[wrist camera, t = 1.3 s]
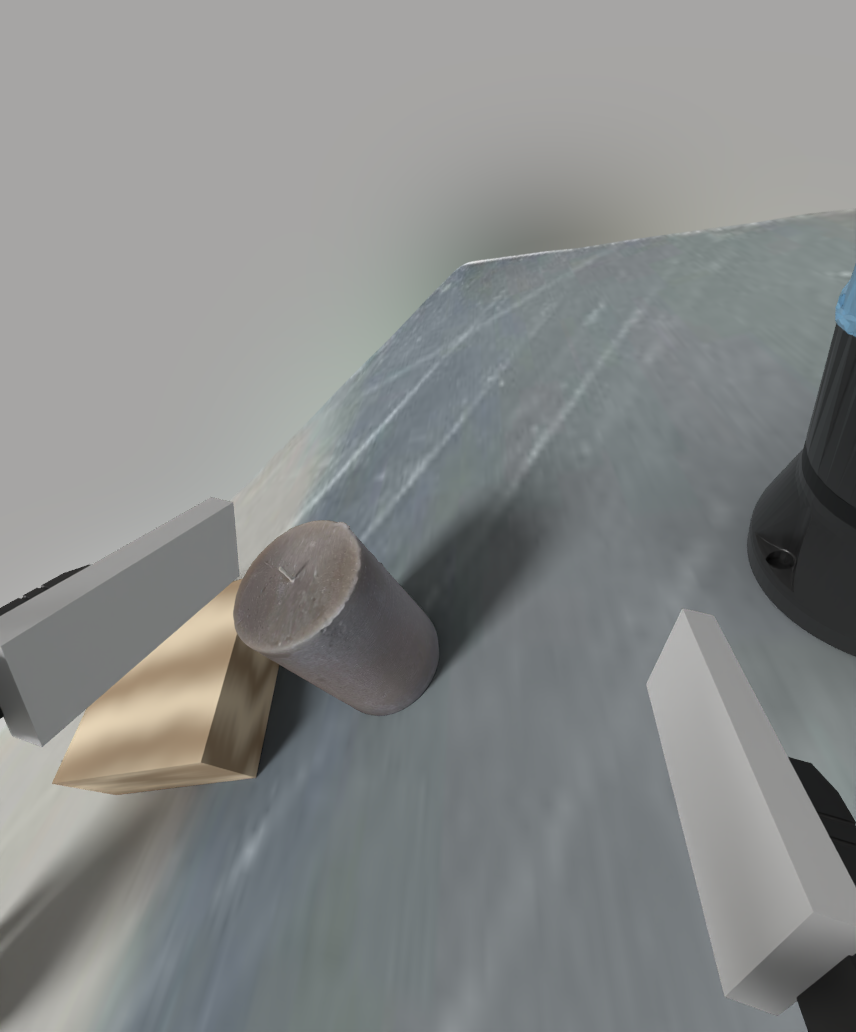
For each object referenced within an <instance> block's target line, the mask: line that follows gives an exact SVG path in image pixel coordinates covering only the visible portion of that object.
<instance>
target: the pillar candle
mask: <svg viewBox="0 0 856 1032" xmlns="http://www.w3.org/2000/svg"><path fill="white" fill-rule="evenodd" d="M233 618H234V625H235V630H236V632H237V634H238V636H239V637H240V639H241V640H242V641H243V642H244V643H245V644H246V645H247V646H249V647H250V648H251V649H253V650H255V651H257V652H259V653H260V654H262V655H263V656H265V657H267V658H269V659H270V660H272V661H274V662H276V663H278V664H279V665H281V666H283V667H284V668H286V669H288V670H289V671H291V672H293V673H295V674H296V675H298V676H300V677H302V678H303V679H305V680H307V681H308V682H310V683H312V684H313V685H315V686H317V687H318V688H320V689H322V690H324V691H325V692H327V693H329V694H330V695H332V696H334V697H336V698H337V699H339V700H341V701H343V702H345V703H346V704H348V705H350V706H352V707H353V708H355V709H356V710H359V711H361V712H363V713H365V714H370V715H375V716H385V715H389V714H393V713H396V712H399V711H401V710H403V709H404V708H406V707H408V706H409V705H411V704H412V703H413V702H414V701H415V700H417V699H418V698H419V697H420V696H421V695H422V694H423V692H424V691H425V690H426V689H427V687H428V685H429V684H430V682H431V681H432V679H433V677H434V675H435V671H436V669H437V666H438V662H439V644H438V636H437V633H436V630H435V627H434V625H433V623H432V622H431V620H430V619H429V617H428V616H427V615H426V614H425V612H424V611H423V610H422V609H421V608H420V607H419V606H418V604H417V603H416V602H415V601H414V600H413V599H412V598H411V597H410V596H409V594H408V593H407V592H406V591H405V590H404V589H403V588H402V587H401V586H400V585H399V584H398V582H397V581H396V580H395V579H394V578H393V577H392V576H391V575H390V573H389V572H388V571H387V570H386V569H385V568H384V566H383V564H382V563H380V562H378V560H377V559H376V558H375V556H374V555H373V554H372V553H371V552H370V551H369V550H368V549H367V548H366V547H365V546H364V544H363V543H362V542H361V541H360V540H359V539H358V538H357V536H356V535H355V534H354V533H353V532H352V531H351V530H350V526H348V525H347V524H346V523H344V522H334V521H329V520H326V521H325V520H321V521H312V522H308V523H305V524H302V525H299V526H296V527H293V528H291V529H290V530H288V531H287V532H285V533H284V534H282V535H280V536H279V537H277V538H276V539H275V540H274V541H273V542H272V543H271V544H269V545H268V546H267V547H266V548H265V549H264V550H263V551H262V552H261V553H260V554H259V555H258V557H257V558H256V559H255V560H254V561H253V562H252V564H251V566H250V567H249V569H248V570H247V572H246V574H245V576H244V578H243V579H242V581H241V583H240V585H239V589H238V591H237V594H236V599H235V605H234V610H233Z"/></svg>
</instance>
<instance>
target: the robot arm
mask: <svg viewBox="0 0 856 1032" xmlns="http://www.w3.org/2000/svg"><path fill="white" fill-rule="evenodd" d="M835 313H836V320H835V321H836V327H835V331H834V334H833V338H832V342H831V346H830V350H829V353H828V357H827V361H826V365H825V369H824V372H823V376H822V380H821V384H820V388H819V391H818V395H817V399H816V403H815V407H814V410H813V414H812V418H811V422H810V426H809V429H808V433H807V438H806V441H805V445H804V448H803V450H802V451H801V452H800V453H799V454H798V455H797V456H796V457H795V458H794V459H793V460H792V461H791V462H790V463H789V464H788V466H787V467H786V468H785V469H784V470H783V471H782V472H781V473H780V474H779V475H778V476H777V477H776V478H775V479H774V480H773V481H772V483H771V484H770V485H769V486H768V487H767V488H766V489H765V491H764V492H763V494H762V495H761V497H760V498H759V500H758V502H757V504H756V506H755V508H754V511H753V514H752V518H751V523H750V528H749V533H748V540H747V551H748V558H749V562H750V566H751V568H752V571H753V573H754V575H755V578H756V580H757V581H758V583H759V585H760V587H761V588H762V589H763V591H764V592H765V594H766V595H767V596H768V597H769V599H770V600H771V601H772V602H773V603H774V604H775V605H776V606H777V608H778V609H780V610H781V611H782V612H783V613H784V614H785V615H786V616H787V617H788V618H790V619H791V620H792V621H793V622H794V623H796V624H797V625H799V626H800V627H801V628H803V629H804V630H806V631H807V632H809V633H810V634H812V635H813V636H815V637H817V638H818V639H820V640H822V641H824V642H825V643H827V644H829V645H831V646H833V647H835V648H837V649H840V650H842V651H844V652H846V653H848V654H851V655H853V656H856V265H855V267H854V270H853V273H852V276H851V279H850V281H849V282H848V283H847V284H846V286H845V287H844V288H843V289H842V292H841V294H840V296H839V301H838V303H837V306H836V312H835ZM238 577H239V565H238V553H237V541H236V529H235V518H234V506H233V502H230V501H225V500H221V499H217V498H213V497H211V498H209V499H207V500H205V501H204V502H202V503H200V504H198V505H197V506H195V507H193V508H191V509H189V510H188V511H186V512H184V513H182V514H181V515H179V516H177V517H175V518H173V519H172V520H170V521H168V522H166V523H165V524H163V525H161V526H159V527H158V528H156V529H154V530H153V531H151V532H149V533H147V534H145V535H143V536H142V537H140V538H138V539H136V540H134V541H133V542H131V543H129V544H127V545H126V546H124V547H122V548H120V549H119V550H117V551H115V552H113V553H111V554H110V555H108V556H106V557H104V558H103V559H101V560H99V561H97V562H95V563H94V564H92V565H87V566H84V567H81V568H78V569H75V570H72V571H69V572H66V573H63V574H61V575H60V576H58V577H56V578H54V579H52V580H50V581H49V582H47V583H45V584H43V585H42V586H41V588H36V589H34V590H32V591H31V592H29V593H27V594H25V595H23V598H22V599H20V598H18V599H16V600H14V601H12V602H10V603H9V604H7V605H5V606H3V607H1V608H0V718H2V717H4V719H5V721H6V724H7V726H8V728H9V730H10V733H11V735H12V736H13V737H16V738H19V739H22V740H24V741H27V742H30V743H32V744H35V745H38V746H41V747H43V746H44V745H45V744H46V743H47V742H49V741H50V740H51V739H52V738H53V737H54V736H55V735H57V734H58V733H59V732H60V731H61V730H62V729H64V728H65V727H66V726H67V725H68V724H69V723H70V722H72V721H73V720H74V719H75V718H76V717H77V716H79V715H80V714H81V713H82V712H83V711H84V710H85V709H87V708H88V707H89V706H90V705H91V704H92V703H94V702H95V701H96V700H97V699H98V698H99V697H100V696H102V695H103V694H104V693H105V692H106V691H107V690H108V689H110V688H111V687H112V686H113V685H114V684H115V683H117V682H118V681H119V680H120V679H121V678H122V677H123V676H125V675H126V674H127V673H128V672H129V671H130V670H132V669H133V668H134V667H135V666H136V665H137V664H138V663H140V662H141V661H142V660H143V659H144V658H145V657H147V656H148V655H149V654H150V653H151V652H152V651H153V650H155V649H156V648H157V647H158V646H159V645H160V644H162V643H163V642H164V641H165V640H166V639H167V638H168V637H170V636H171V635H172V634H173V633H174V632H175V631H177V630H178V629H179V628H180V627H181V626H182V625H183V624H185V623H186V622H187V621H188V620H189V619H190V618H192V617H193V616H194V615H195V614H196V613H197V612H198V611H200V610H201V609H202V608H203V607H204V606H205V605H207V604H208V603H209V602H210V601H211V600H212V599H213V598H215V597H216V596H217V595H218V594H219V593H220V592H222V591H223V590H224V589H225V588H226V587H227V586H228V585H230V584H231V583H232V582H233V581H234V580H235V579H236V578H238ZM647 688H648V692H649V696H650V700H651V704H652V708H653V712H654V716H655V720H656V724H657V728H658V732H659V736H660V740H661V744H662V748H663V752H664V756H665V760H666V764H667V768H668V772H669V776H670V780H671V784H672V788H673V792H674V796H675V800H676V804H677V808H678V812H679V816H680V820H681V824H682V828H683V832H684V836H685V840H686V844H687V848H688V852H689V856H690V860H691V864H692V868H693V872H694V876H695V880H696V884H697V888H698V892H699V896H700V900H701V904H702V908H703V912H704V916H705V920H706V924H707V928H708V932H709V936H710V940H711V944H712V948H713V952H714V956H715V960H716V964H717V968H718V972H719V976H720V980H721V984H722V988H723V992H724V996H725V997H726V998H729V999H732V1000H735V1001H737V1002H740V1003H743V1004H745V1005H748V1006H751V1007H754V1008H756V1009H759V1010H762V1011H765V1012H767V1013H770V1014H773V1015H776V1016H779V1015H780V1014H781V1013H782V1012H784V1011H785V1010H786V1009H787V1008H789V1007H790V1006H791V1005H792V1004H794V1003H795V1002H796V1001H798V1004H799V1007H800V1010H801V1012H802V1015H803V1018H804V1021H805V1024H806V1027H807V1029H808V1032H856V826H855V824H856V822H855V820H854V818H853V817H852V815H851V813H850V812H849V810H848V808H847V806H846V805H845V803H844V801H843V800H842V798H841V796H840V795H839V793H838V792H837V790H836V789H835V788H834V787H833V786H832V785H831V784H830V783H829V782H828V781H827V780H826V779H825V778H824V777H823V775H822V774H821V773H820V772H819V771H818V770H817V769H816V768H815V767H814V766H813V765H812V764H811V763H808V762H804V761H801V760H797V759H793V758H790V757H788V756H787V754H786V753H785V751H784V749H783V747H782V745H781V743H780V741H779V739H778V737H777V735H776V733H775V732H774V730H773V728H772V726H771V724H770V722H769V720H768V718H767V716H766V714H765V712H764V710H763V709H762V707H761V705H760V703H759V701H758V699H757V697H756V695H755V693H754V691H753V689H752V688H751V686H750V684H749V682H748V680H747V678H746V676H745V674H744V672H743V670H742V668H741V666H740V665H739V663H738V661H737V659H736V657H735V655H734V653H733V651H732V649H731V647H730V645H729V643H728V642H727V640H726V638H725V636H724V634H723V632H722V630H721V628H720V626H719V624H718V622H717V621H716V619H715V617H714V615H709V614H705V613H701V612H697V611H692V610H688V609H684V608H682V610H681V612H680V614H679V617H678V619H677V621H676V623H675V625H674V627H673V629H672V631H671V633H670V635H669V638H668V640H667V642H666V644H665V646H664V648H663V650H662V652H661V654H660V656H659V659H658V661H657V663H656V665H655V667H654V669H653V671H652V673H651V675H650V677H649V680H648V682H647Z"/></svg>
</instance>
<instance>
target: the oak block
mask: <svg viewBox="0 0 856 1032" xmlns="http://www.w3.org/2000/svg"><path fill="white" fill-rule="evenodd" d="M241 581H242V579H240V580H237V581H233V582H232V583H231V584H230V585H228V586H227V587H226V588H225V589H224V590H223V591H222V592H220V593H219V594H218V595H217V596H216V597H215V598H213V599H212V600H211V601H210V602H209V603H208V604H207V605H205V606H204V607H203V608H202V609H201V610H200V611H198V612H197V613H196V614H195V615H194V616H193V617H192V618H190V619H189V620H188V621H187V622H186V623H185V624H183V625H182V626H181V627H180V628H179V629H178V630H177V631H175V632H174V633H173V634H172V635H171V636H170V637H168V638H167V639H166V640H165V641H164V642H163V643H162V644H160V645H159V646H158V647H157V648H156V649H155V650H153V651H152V652H151V653H150V654H149V655H148V656H147V657H145V658H144V659H143V660H142V661H141V662H140V663H138V664H137V665H136V666H135V667H134V668H133V669H132V670H130V671H129V672H128V673H127V674H126V675H125V676H123V677H122V678H121V679H120V680H119V681H118V682H117V683H115V684H114V685H113V686H112V687H111V688H110V689H108V690H107V691H106V692H105V693H104V694H103V695H102V696H100V697H99V698H98V699H97V700H96V701H95V702H94V703H92V704H91V705H90V706H89V707H88V708H87V709H86V711H85V713H84V715H83V717H82V720H81V722H80V724H79V726H78V728H77V730H76V733H75V735H74V737H73V739H72V741H71V743H70V745H69V748H68V750H67V752H66V754H65V756H64V758H63V761H62V763H61V765H60V767H59V769H58V771H57V774H56V776H55V778H54V780H53V782H52V784H57V785H62V786H68V787H74V788H79V789H85V790H91V791H96V792H102V793H107V794H113V795H120V794H128V793H136V792H144V791H153V790H161V789H169V788H177V787H185V786H193V785H201V784H209V783H217V782H226V781H234V780H242V779H250V778H256V775H257V770H258V765H259V760H260V756H261V751H262V746H263V741H264V736H265V731H266V726H267V722H268V717H269V712H270V707H271V702H272V697H273V692H274V688H275V683H276V678H277V673H278V668H279V664H278V663H276V662H274V661H272V660H270V659H269V658H267V657H265V656H263V655H262V654H260V653H259V652H257V651H255V650H253V649H251V648H250V647H249V646H247V645H246V644H245V643H244V642H243V641H242V640H241V639H240V637H239V636H238V634H237V632H236V630H235V625H234V618H233V610H234V605H235V599H236V594H237V591H238V589H239V585H240V583H241Z"/></svg>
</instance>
